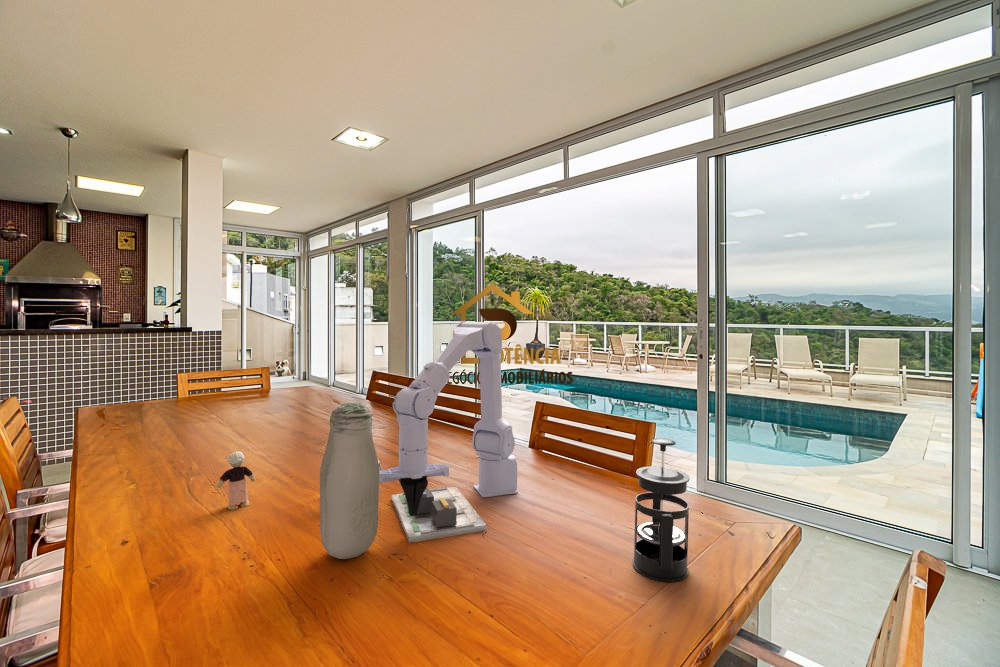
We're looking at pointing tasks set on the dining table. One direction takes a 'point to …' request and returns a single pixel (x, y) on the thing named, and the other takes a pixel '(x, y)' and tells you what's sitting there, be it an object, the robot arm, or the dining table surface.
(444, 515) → the block
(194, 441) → the dining table surface
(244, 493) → the grandmother figurine
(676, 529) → the french press
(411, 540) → the breaker panel
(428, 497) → the breaker
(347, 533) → the glass bottle
